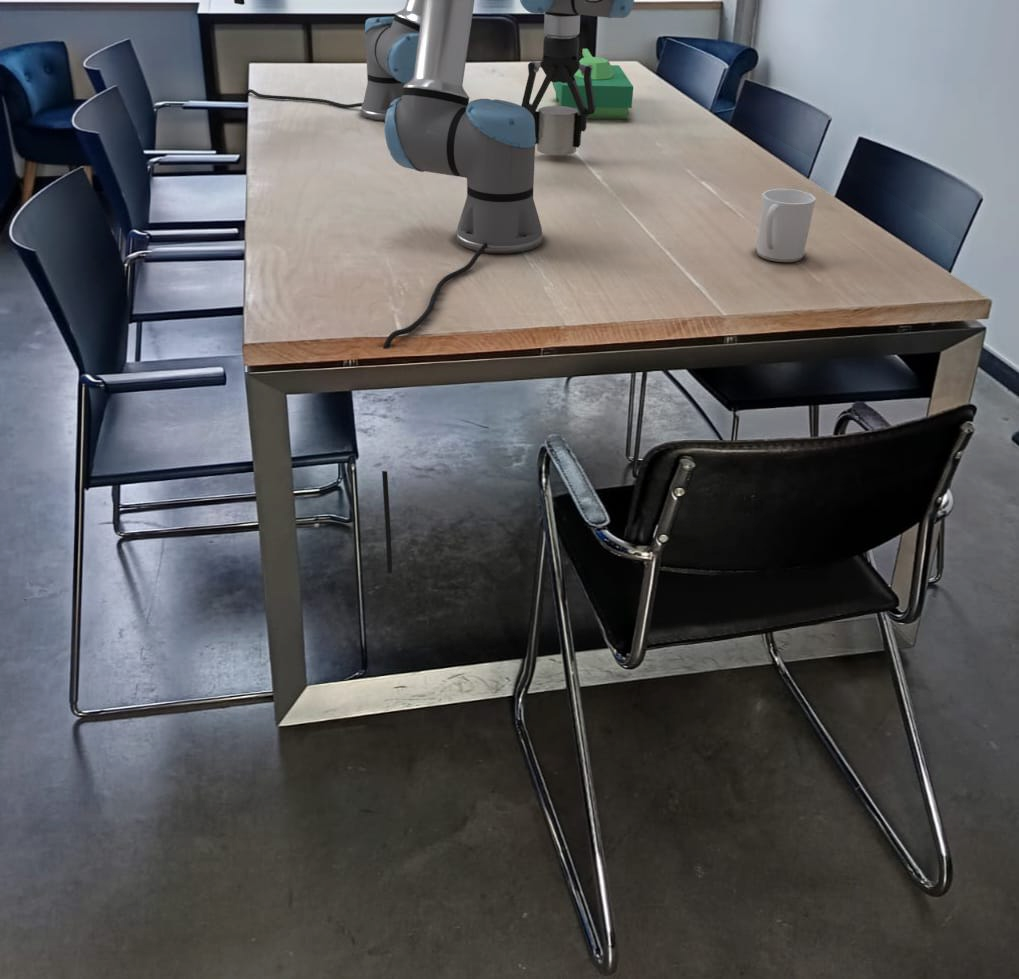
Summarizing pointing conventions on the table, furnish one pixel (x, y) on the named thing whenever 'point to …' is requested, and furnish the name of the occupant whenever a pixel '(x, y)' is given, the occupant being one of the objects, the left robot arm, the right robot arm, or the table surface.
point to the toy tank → (600, 89)
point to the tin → (557, 130)
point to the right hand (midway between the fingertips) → (556, 144)
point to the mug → (784, 224)
